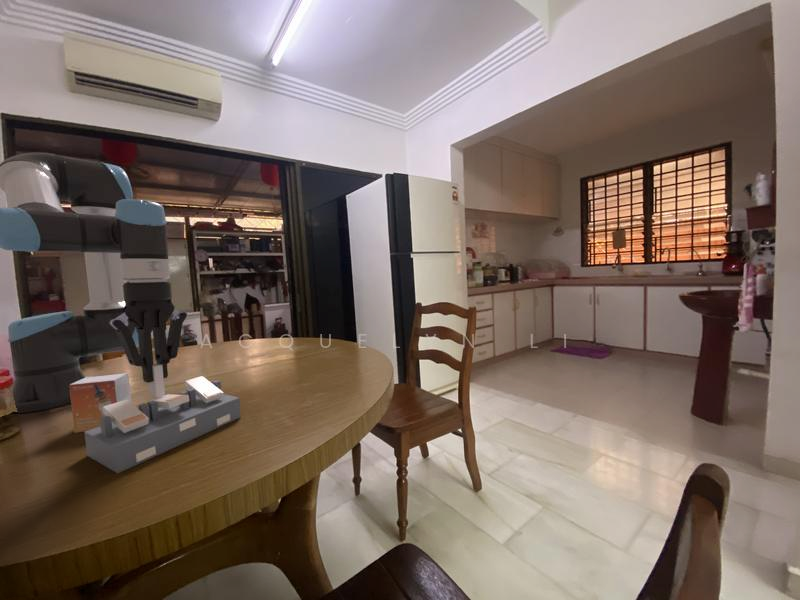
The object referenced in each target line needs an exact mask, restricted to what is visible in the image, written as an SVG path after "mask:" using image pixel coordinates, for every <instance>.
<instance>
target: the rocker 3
mask: <svg viewBox="0 0 800 600" xmlns="http://www.w3.org/2000/svg"><path fill="white" fill-rule="evenodd" d="M184 386H185V387H186V388H187V390H188V389H195V394H196V395H197V396H198V397H199V398H200V399H202V400H203V401H204V402H205V403H208V402H211V401H214V400H216V399H219V398H222V397H223V394H224V392H223V390H222V389H221V390H220V389H218V388H217V387H216V386H215V385H213V384H212V382H211V381H209V380H208V379H207V378H206V377H204V376H203V375H201V376H198V377H194V378H191V379H188V380H185V382H184Z"/></svg>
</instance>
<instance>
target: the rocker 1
mask: <svg viewBox="0 0 800 600" xmlns="http://www.w3.org/2000/svg"><path fill="white" fill-rule="evenodd" d="M103 413H104V414H105V415H106V416H110V417H111V420H112V422H113V423H114V424H115V425H116V426H117V427H118V428H119V429H120V430H121V431H122V432H123V433H126V432H128V431H131V430H134V429H136V428H139V427H142V426H144V425H147V424H149V418H148V417H147V416H146V415H145V414H143V413H142V412H141V411H140V410H139V407H136V405H134V404H133V403H132V401H131V402H130V401H129V400H123V401H120V402H117V403H114V404H110V405H107V406H104V407H103Z"/></svg>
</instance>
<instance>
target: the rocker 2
mask: <svg viewBox="0 0 800 600" xmlns="http://www.w3.org/2000/svg"><path fill="white" fill-rule="evenodd" d="M150 401H156V402H157V405H158V407H161V408H171V407H174V406H177V405H180V404H183V403H186V402H188V401H189V395H179V394H170V393H168V394H165V396H162V397H158V398H155V397H154V398H152V399H149V400H147V402H150Z"/></svg>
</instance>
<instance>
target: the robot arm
mask: <svg viewBox="0 0 800 600" xmlns="http://www.w3.org/2000/svg"><path fill="white" fill-rule="evenodd" d="M0 189H1V190H2V191H3V192H4V193H5V198H6V204H7V207H2V206H1V207H0V249H2V250H5V251H11V252H13V251H15V252H17V251H18V252H26V253H37V252H39V253H40V252H41V253H42V252H43V253H47V252H50V253H53V252H54V253H83V254H84V260H85V263H84V264H85V269H86V270H85V271H86V277H87V278H86V279H87V286H88V295H89V303H87V304H86V305H85V306H84V307H83V309H82V310H83V314H81V315H79V314H78V315H75V314H74V313H73V311H71V310H67V311H65V310H64V311H59V312H53V313H52V312H51V313H46V314H39V315H35V316H34V315H33V316H29V317H23V318H21V319H16V320H14V321H12V322H11V323H9V325H8V327H7V329H8V330H7V332H8V339H7V342H8V343H9V346H10V353H11V355H10V356H11V362H12V369H13V375H14V376H13V377H14V380H13V383H12V387H11V389H12V393H13V397H14V400H15V405H16V408H17V411H18V413H17V414H24V413H32V412H39V411H45V410H49V409H54V408H57V407H61V406H66V405H68V404H69V405H70V404H71V396H70V386H69V385H70V384H72V383H75V382H77V381H79V380H81V379H83V378H86V377H87V376H86V375H85V374H84V372H83V370H82V369H81V367H80V358H84V357H90V356H96V355H103V354H109V353H116V352H124V354H125V356H126V358H127V361H128V364H129V365H132V366H135V367H141V369H142V380H143V382H144V383H148V389H149V397H152V398H154V399H155V398H158V397H162V396H165V395H166V393H165V392H166V391H165V381H164V379H167V378H168V376H169V374H168V372H169V371H168V364H169V363H170V361H171V360H172V359H175V358H177V357H178V352H179V347H180V339H181V335H182V331H183V330H182V327H183V324H184V322H185V320H186V318H187V316H188V314H187V312H185V311H180V310H178V309H176V308H175V305H174V303H173V302H172V298H173V297H172V296H173V294H172V284H171V283H170V281H168V280H169V279H170V278H171V271H170V259H169V248H168V246H169V245H168V234H167V232H168V231H167V224H168V220H167V219H166V212H165V209H164V206H163V205H162V204H160V203H158V202H155V201H149V200H144V199H134V194H133V189H132V185H131V182H130V179H129V177H128V174H127V173H126V171H125V170H124V169H123V168H121V166H117V165H114V164H111V163H105V162H103V161H96V160H91V159H85V158H84V159H83V158H77V157H71V156H66V155H59V154H55V153H49V152H40V151H39V152H27V153H21V154H20V153H19V154H15V155H12V156H10V157H8V158H6V159H4V160H3V161H2V162H0ZM61 202H68V203H70V209H71V210H72V211H73V212H65V210H64V208H63V206H62V204H61ZM169 319H171V320H170V324H169V329H168V334H167V333H166V331H167V322H168V320H169ZM152 337H153V339H152ZM152 340H153V341H152ZM152 342H153V343H152ZM153 346H154V347H153ZM153 348H154V353H153ZM154 360H155V363H154Z"/></svg>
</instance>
